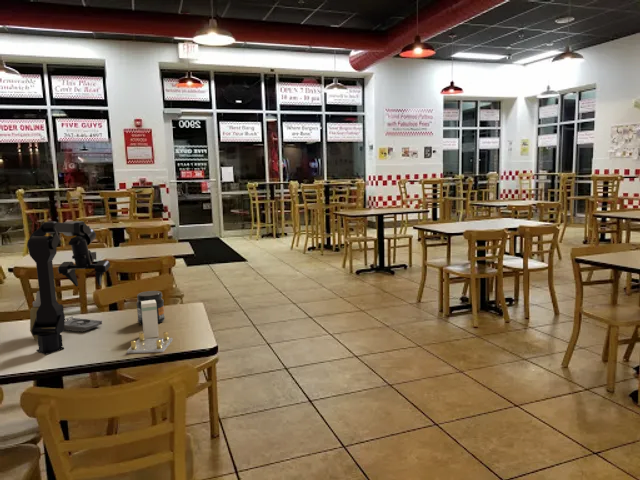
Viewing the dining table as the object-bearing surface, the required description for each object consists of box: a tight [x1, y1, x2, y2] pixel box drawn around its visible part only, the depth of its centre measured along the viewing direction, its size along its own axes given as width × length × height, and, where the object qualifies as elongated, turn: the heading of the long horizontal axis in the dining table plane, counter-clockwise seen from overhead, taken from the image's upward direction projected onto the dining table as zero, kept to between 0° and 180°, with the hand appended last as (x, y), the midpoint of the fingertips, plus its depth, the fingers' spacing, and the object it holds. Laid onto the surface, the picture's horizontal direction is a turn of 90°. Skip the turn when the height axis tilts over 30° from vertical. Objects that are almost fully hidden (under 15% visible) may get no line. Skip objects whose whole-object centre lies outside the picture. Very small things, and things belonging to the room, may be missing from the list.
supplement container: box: [136, 290, 166, 326], centre depth 204 cm, size 10×10×12 cm
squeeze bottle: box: [29, 290, 51, 341], centre depth 186 cm, size 8×8×18 cm
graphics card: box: [63, 315, 103, 333], centre depth 198 cm, size 17×4×12 cm
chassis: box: [126, 331, 173, 354], centre depth 175 cm, size 12×12×4 cm
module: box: [141, 300, 160, 339], centre depth 186 cm, size 5×5×13 cm
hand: (88, 285), depth 205 cm, fingers open, 9 cm apart
